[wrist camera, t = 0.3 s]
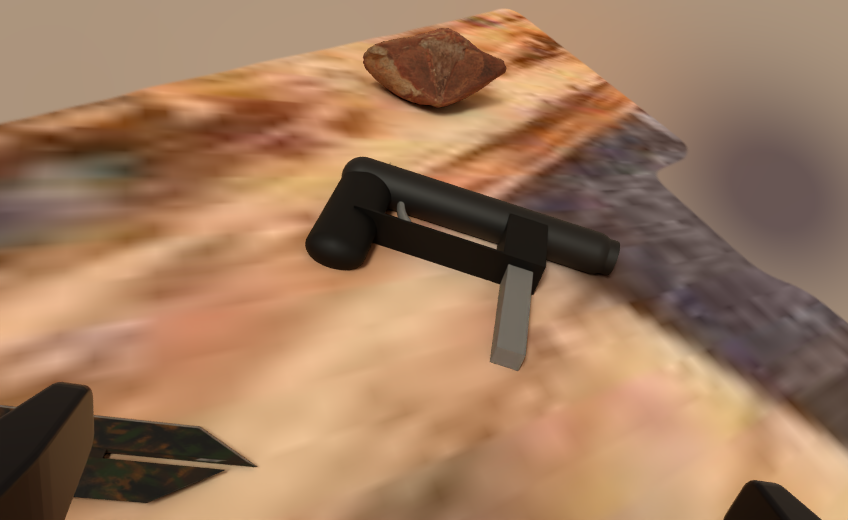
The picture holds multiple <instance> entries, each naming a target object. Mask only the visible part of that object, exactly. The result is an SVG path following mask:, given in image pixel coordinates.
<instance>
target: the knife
mask: <svg viewBox="0 0 848 520" xmlns="http://www.w3.org/2000/svg"><path fill="white" fill-rule="evenodd" d="M14 408H16V407H12V406H3V405H0V417H2V416H3V415H5V414H7V413H8V412H10V411H11V410H13V409H14ZM105 453H115V454H126V455H136V456H147V457H157V458H167V459H178V460H188V461H198V462H209V463H219V464H230V465H240V466H250V467H257V466H255V465H254V464H252V463H251V462H250V461H248V460H247V459H245V458H244V457H242V456H241V455H240V454H238V453H237V452H235V451H234V450H232V449H231V448H230V447H228V446H227V445H225V444H224V443H223V442H221V441H220V440H218V439H217V438H215V437H214V436H213V435H211V434H210V433H208V432H207V431H205V430H204V429H203V428H201V427H199V426H190V425H180V424H171V423H162V422H152V421H143V420H134V419H124V418H115V417H106V416H96V415H94V437H93V443H92V447H91V451H90V454H89V456H88V459H87V462H86V464H85V467H84V470H83V472H82V475H81V478H80V480H79V483H78V485H77V488H76V491H75V493H74V496H73V497H81V498H93V499H105V500H117V501H129V502H141V503H148V502H150V501H153V500H155V499H158V498H160V497H162V496H165V495H167V494H169V493H172V492H174V491H177V490H179V489H181V488H184V487H186V486H189V485H191V484H193V483H196V482H198V481H200V480H203V479H205V478H208V477H210V476H212V475H215V474H217V473H220V472H222V471H224V470H221V469H210V468H200V467H189V466H179V465H168V464H158V463H147V462H136V461H126V460H115V459H105V458H104V456H105Z"/></svg>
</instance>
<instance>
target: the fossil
mask: <svg viewBox="0 0 848 520" xmlns="http://www.w3.org/2000/svg"><path fill="white" fill-rule="evenodd" d="M363 59H364V61H363V63H364V66H365V68H366V70H368V72H369V73H370V74H371V75H372V76H373V77H374V78H375V79H376V80H377V81H378V82H379V83H381V84H382V85H383V86H384V87H386V88H387V89H389V90H390V91H391V92H393V93H394V94H396V95H398V96H399V97H401V98H403V99H405V100H409V101H411V102H413V103H417V104H421V105H432V106H434V107H436V108H440V107H444V106H448V105H451V104H453V103H456V102H458V101H461V100H463V99H465V98H467V97H468V96H470V95H472V94H474V93H475V92H477V91H479V90H480V89H482V88H483V87H485V86H486V85H488V84H489V83H490V82H492V81H493V80H494V79H496V78H497V77H499V76H501V75H502V74H503V73H505V71H506V66H505V64H504V61H503V60H501V59H499V58H496V57H493V56H492V55H489V54H487V53H484V52H482V51H481V50H479V49H478V48H477V47H476V46H474V45H473V44H472V43H471V42H470V41H469V40H467V39H466V38H464V37H463V36H461V35H460V34H459V33H457V32H455V31H452V30H451V29H449V28H446V29H443V28H440V29H437V30H435V31H430V32H428V33H422V34H418V35H416V36H413V37H408V38H399V39H393V40H389V41H383V42H381V43H378V44H375V45H374V46H372V47H370V48H369V49H368V50H367V51H366V52H365V53H364V56H363Z"/></svg>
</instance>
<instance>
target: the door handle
mask: <svg viewBox="0 0 848 520" xmlns="http://www.w3.org/2000/svg"><path fill="white" fill-rule="evenodd" d="M390 164H391V163H390ZM390 164H387V163H384V162H380V161H377V160H374V159H371V158H368V157H357V158H354V159H352V160H351V161H349V162H348V163H347V164H346V166H345V167H344V169H343V172H342V178H341V180H340V182H339V183H338V185H337V187H336V188H335V190H334V192H333V194H332V195H331V197H330V199H329V201H328V202H327V204H326V206H325V207H324V209H323V211H322V213H321V214H320V216H319V218H318V220H317V221H316V223H315V225H314V226H313V228H312V230H311V232H310V233H309V235H308V237H307V239H306V242H305V246H306V250H307V252H308V253H309V255H310V256H311V257H312V258H313V259H314V260H315V261H316V262H318V263H320V264H322V265H324V266H327V267H330V268H333V269H338V270H352V269H355V268H357V267H359V266H360V265H361V264H362V263H363V262H364V260H365V258H366V255H367V253H368V251H369V248H370V246H371V244H372V243H375V244H378V245H381V246H384V247H387V248H390V249H393V250H396V251H400V252H403V253H406V254H409V255H412V256H415V257H418V258H421V259H424V260H427V261H430V262H433V263H436V264H439V265H443V266H446V267H449V268H452V269H455V270H458V271H461V272H464V273H467V274H470V275H473V276H476V277H479V278H482V279H486V280H489V281H492V282H494V283H497V284H500V290H499V296H498V304H497V312H496V319H495V327H494V334H493V342H492V350H491V357H490V362H492V363H495V364H498V365H501V366H504V367H507V368H510V369H513V370H516V371H518V370H519V368H520V366H521V364H522V362H523V360H524V358H525V355H526V344H527V334H528V323H529V312H530V301H531V295H533V294H534V291H535V289H536V287H537V285H538V283H539V281H540V278H541V276H542V274H543V272H544V270H545V268H546V260H549V261H552V262H555V263H558V264H561V265H565V266H568V267H571V268H574V269H577V270H580V271H583V272H586V273H591V274H596V273H601V274H604V275H609V274H610V273H611V272H612V270H613V268H614V266H615V264H616V261H617V258H618V255H619V251H620V243H619V242H618V241H615V240H612V239H610V238H609V237H608V236H606V235H605V234H603V233H600V232H597V231H594V230H591V229H588V228H585V227H582V226H579V225H576V224H572V223H569V222H566V221H563V220H560V219H557V218H554V217H551V216H548V215H545V214H541V213H538V212H535V211H532V210H529V209H526V208H523V207H520V206H517V205H514V204H510V203H507V202H504V201H501V200H498V199H495V198H492V197H489V196H486V195H483V194H480V193H476V192H473V191H470V190H467V189H464V188H461V187H458V186H455V185H452V184H449V183H445V182H442V181H439V180H436V179H433V178H430V177H427V176H424V175H421V174H418V173H415V172H411V171H408V170H405V169H402V168H399V167H396V166H393V165H390ZM387 208H388V209H391V210H394V211H397V215H398V218H397V217H394V216H391V215H388V214H385V212H386V210H387ZM408 215H410V216H413V217H416V218H419V219H422V220H425V221H428V222H431V223H434V224H438V225H441V226H444V227H447V228H450V229H453V230H456V231H459V232H462V233H465V234H469V235H472V236H475V237H478V238H481V239H484V240H487V241H490V242H493V243H496V244H498V245H497V250H496V249H493V248H490V247H487V246H484V245H481V244H478V243H475V242H472V241H468V240H465V239H462V238H459V237H456V236H453V235H450V234H447V233H444V232H441V231H437V230H434V229H431V228H428V227H425V226H422V225H419V224H416V223H413V222H411V220H410V219H409V217H408Z"/></svg>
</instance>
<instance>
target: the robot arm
mask: <svg viewBox="0 0 848 520" xmlns="http://www.w3.org/2000/svg"><path fill="white" fill-rule="evenodd" d="M93 437H94V415H93V393H92V390H91V388H90V387H88V386H86V385H79V384H72V383H65V382H57V383H54V384H52V385H50V386H49V387H47V388H46V389H44V390H42V391H41V392H39V393H38V394H36V395H35V396H33V397H32V398H30V399H28V400H27V401H25V402H24V403H22V404H21V405H19V406H17V407H16V408H14V409H13V410H11V411H10V412H8V413H7V414H5V415H3V416H2V417H0V520H65V517H66V515H67V512H68V509H69V507H70V504H71V501H72V499H73V496H74V493H75V491H76V488H77V485H78V483H79V480H80V478H81V475H82V472H83V470H84V467H85V464H86V462H87V459H88V456H89V454H90V451H91V447H92V443H93ZM724 520H821V519H820V518H819V517H818V516H817V515H815V514H814V513H813V512H812V511H811V510H810V509H808V508H807V507H806V506H805V505H804V504H803V503H801V502H800V501H799V500H798V499H797V498H796V497H794V496H793V495H792V494H791V493H790V492H788V491H787V490H786V489H785V488H784V487H782V486H781V485H779V484H776V483H771V482H764V481H757V480H752V481H749V482H748V483H746V484H745V485H744V486H743V488H742V490H741V491H740V493H739V494H738V496H737V497H736V499H735V501H734V502H733V504H732V505H731V507H730V508H729V510H728V512H727V513H726V515H725V517H724Z"/></svg>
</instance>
